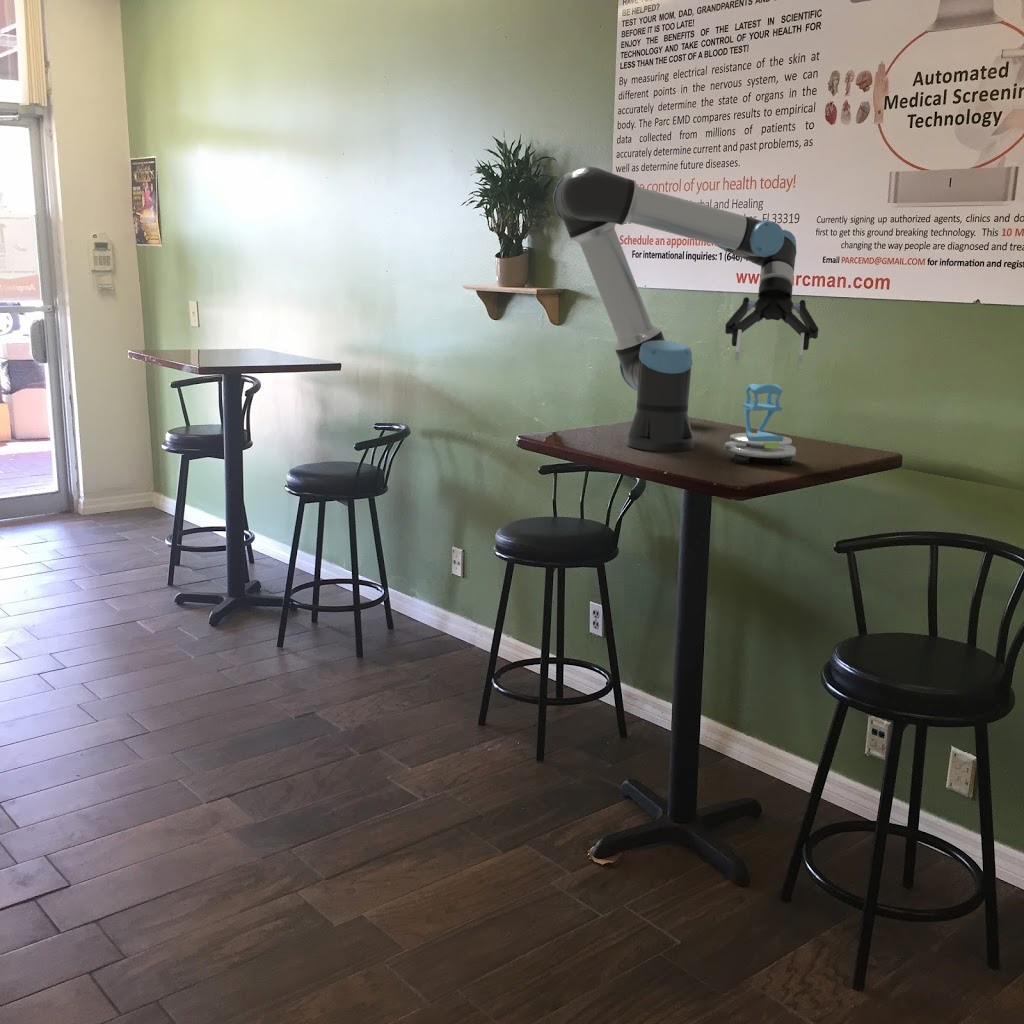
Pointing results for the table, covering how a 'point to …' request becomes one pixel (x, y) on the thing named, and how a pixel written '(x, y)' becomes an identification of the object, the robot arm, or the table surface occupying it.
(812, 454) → the table surface
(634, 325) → the robot arm
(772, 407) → the chair
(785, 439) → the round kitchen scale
